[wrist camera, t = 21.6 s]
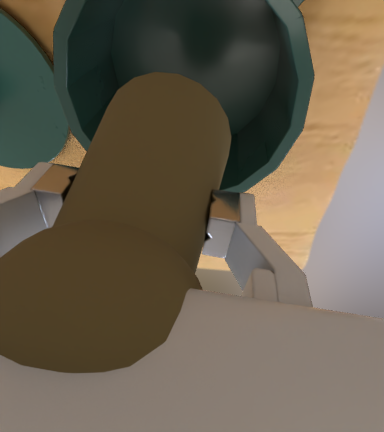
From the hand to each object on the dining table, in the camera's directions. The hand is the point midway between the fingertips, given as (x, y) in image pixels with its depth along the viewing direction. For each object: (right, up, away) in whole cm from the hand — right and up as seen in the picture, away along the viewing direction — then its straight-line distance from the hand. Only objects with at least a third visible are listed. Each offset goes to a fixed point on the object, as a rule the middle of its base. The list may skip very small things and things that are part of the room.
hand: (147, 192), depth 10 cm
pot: (+2, +11, +12) cm, 17 cm away
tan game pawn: (0, +3, +3) cm, 4 cm away
